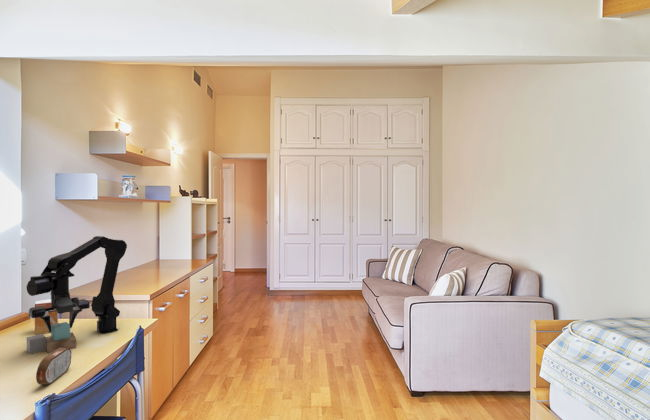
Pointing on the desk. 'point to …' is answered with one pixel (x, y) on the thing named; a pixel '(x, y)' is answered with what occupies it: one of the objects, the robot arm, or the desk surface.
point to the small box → (39, 323)
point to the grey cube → (36, 343)
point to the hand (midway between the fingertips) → (60, 330)
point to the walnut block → (60, 343)
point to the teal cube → (60, 331)
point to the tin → (53, 366)
